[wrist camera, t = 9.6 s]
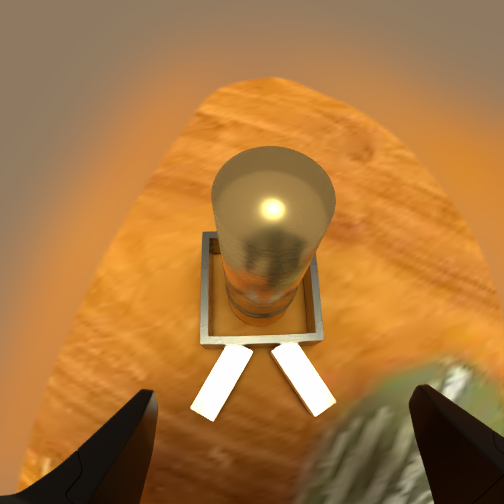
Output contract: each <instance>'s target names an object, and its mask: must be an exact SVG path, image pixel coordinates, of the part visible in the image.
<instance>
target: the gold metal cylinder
mask: <svg viewBox="0 0 504 504" xmlns="http://www.w3.org/2000/svg"><path fill="white" fill-rule="evenodd" d="M211 197H212V205H213V211H214V217H215V223H216V229H217V234H218V240H219V246H220V251H221V257H222V262H223V268H224V273H225V279H226V289H227V294H228V297H229V300H230V304H231V307H232V309H233V311H234V313H235V314H236V315H237V316H238V317H239V318H240V319H241V320H242V321H244V322H246V323H248V324H251V325H256V326H263V325H268V324H271V323H273V322H275V321H277V320H278V319H279V318H280V317H281V316H282V315H283V314H284V313H285V311H286V309H287V307H288V306H289V305H290V303H291V302H292V300H293V298H294V296H295V293H296V290H297V288H298V286H299V284H300V282H301V280H302V278H303V276H304V274H305V272H306V270H307V268H308V266H309V264H310V262H311V260H312V258H313V256H314V254H315V252H316V250H317V248H318V246H319V244H320V242H321V240H322V238H323V236H324V234H325V232H326V230H327V228H328V226H329V224H330V222H331V219H332V217H333V214H334V211H335V204H336V198H335V191H334V188H333V185H332V182H331V180H330V178H329V177H328V175H327V174H326V172H325V171H324V170H323V169H322V167H321V166H320V165H318V164H317V163H316V162H315V161H314V160H312V159H311V158H309V157H308V156H306V155H304V154H302V153H300V152H298V151H295V150H292V149H289V148H284V147H277V146H264V147H257V148H252V149H249V150H246V151H243V152H241V153H239V154H237V155H236V156H234V157H232V158H231V159H230V160H228V161H227V162H226V163H225V164H224V165H223V166H222V168H221V169H220V170H219V172H218V174H217V175H216V177H215V180H214V182H213V186H212V195H211Z"/></svg>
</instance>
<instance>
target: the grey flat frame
mask: <svg viewBox="0 0 504 504" xmlns="http://www.w3.org/2000/svg"><path fill="white" fill-rule="evenodd" d="M213 253H221V251H220V246H219V240H218V234H217V231H216V232H203V236H202V266H201V319H200V344H201V345H202V346H203V347H204V348H205V349H224V351H223V352H222V354H221V356H220V358H219V359H218V361H217V363H216V365H215V366H214V368H213V370H212V372H211V373H210V375H209V377H208V378H207V380H206V382H205V384H204V385H203V387H202V389H201V390H200V392H199V394H198V396H197V397H196V399H195V401H194V402H193V404H192V406H191V407H190V409H192V410H194V411H196V412H197V413H199V414H201V415H203V416H204V417H206V418H208V419H210V420H212V421H214V420H215V419H216V417H217V415H218V413H219V412H220V410H221V408H222V407H223V405H224V403H225V402H226V400H227V398H228V396H229V395H230V393H231V391H232V389H233V388H234V386H235V384H236V382H237V381H238V379H239V377H240V375H241V374H242V372H243V370H244V368H245V366H246V365H247V363H248V361H249V359H250V357H251V356H252V354H253V351H251V350H249V349H247V348H271V347H277V348H276V349H274V350H272V351H271V352H270V355H271V356H272V358H273V359H274V361H275V362H276V364H277V365H278V367H279V369H280V370H281V372H282V373H283V375H284V376H285V378H286V379H287V381H288V382H289V384H290V385H291V387H292V388H293V390H294V391H295V393H296V394H297V396H298V397H299V399H300V400H301V402H302V403H303V405H304V406H305V407H306V409H307V410H308V412H309V413H310V415H313V416H315V417H316V416H317V415H319V414H320V413H322V412H323V411H324V410H326V409H327V408H329V407H330V406H332V405H333V404H334V403H336V400H335V399H334V397H333V396H332V394H331V393H330V391H329V390H328V388H327V387H326V385H325V384H324V382H323V381H322V379H321V378H320V376H319V375H318V373H317V372H316V370H315V369H314V367H313V366H312V365H311V363H310V362H309V360H308V359H307V357H306V356H305V354H304V353H303V351H302V350H301V348H300V347H299V346H308V345H316V344H318V343H319V342H321V341H323V340H324V334H323V322H322V310H321V299H320V289H319V279H318V270H317V261H316V252H315V254H314V256H313V258H312V260H311V262H310V264H309V266H308V268H307V270H306V272H305V274H304V276H303V280H304V292H305V304H306V317H307V331H308V333H307V334H289V335H265V336H214V337H212V269H213Z"/></svg>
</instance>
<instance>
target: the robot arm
mask: <svg viewBox="0 0 504 504" xmlns="http://www.w3.org/2000/svg"><path fill="white" fill-rule="evenodd" d="M409 410H410V414H411V419H412V423H413V428H414V433H415V438H416V442H417V445H418V448H419V451H420V455H421V458H422V461H423V465H424V468H425V471H426V475H427V478H428V482H429V485H430V489H431V493H432V496H433V500H434V504H504V437H502V436H501V435H499V434H498V433H497V432H495V431H493V430H492V429H491V428H489V427H488V426H486V425H485V424H484V423H482V422H481V421H479V420H478V419H476V418H475V417H474V416H472V415H471V414H469V413H468V412H466V411H465V410H464V409H462V408H461V407H459V406H458V405H456V404H455V403H454V402H452V401H451V400H449V399H448V398H446V397H445V396H444V395H442V394H441V393H439V392H438V391H436V390H435V389H434V388H432V387H431V386H429V385H427V384H424V385H418V386H417V387H416V388H415V390H414V392H413V394H412V396H411V398H410V400H409ZM157 416H158V404H157V400H156V395H155V392H154V391H153V390H149V389H141V390H140V391H139V392H138V393H137V394H136V395H135V396H134V397H133V398H132V399H130V400H129V401H128V402H127V403H126V404H125V405H124V406H123V407H122V408H121V409H120V410H119V411H118V412H117V413H116V414H115V415H114V416H113V417H111V418H110V419H109V420H108V421H107V422H106V423H105V424H104V425H103V426H102V427H101V428H100V429H99V430H98V431H97V432H96V433H94V434H93V435H92V436H91V437H90V438H89V439H88V440H87V441H86V442H85V443H84V444H83V445H82V446H80V447H79V448H78V451H75V452H74V453H73V454H72V455H71V456H69V457H68V458H67V459H66V460H65V461H64V462H63V463H61V464H60V465H59V466H58V467H56V468H55V469H54V470H52V471H51V472H50V473H48V474H47V475H45V476H44V477H42V478H41V479H39V480H38V481H36V482H35V483H34V484H32V485H31V486H29V487H28V488H26V489H24V490H23V491H21V492H19V493H16V494H12V495H4V496H0V504H139V503H140V499H141V495H142V491H143V487H144V483H145V479H146V475H147V471H148V467H149V464H150V460H151V456H152V452H153V446H154V438H155V430H156V423H157Z"/></svg>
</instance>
